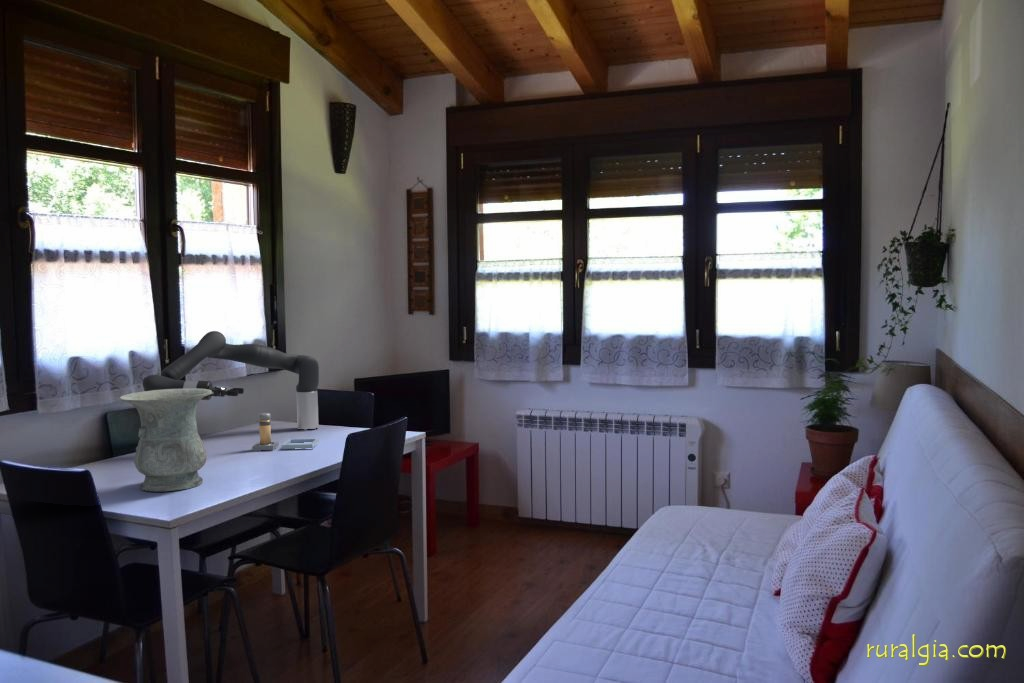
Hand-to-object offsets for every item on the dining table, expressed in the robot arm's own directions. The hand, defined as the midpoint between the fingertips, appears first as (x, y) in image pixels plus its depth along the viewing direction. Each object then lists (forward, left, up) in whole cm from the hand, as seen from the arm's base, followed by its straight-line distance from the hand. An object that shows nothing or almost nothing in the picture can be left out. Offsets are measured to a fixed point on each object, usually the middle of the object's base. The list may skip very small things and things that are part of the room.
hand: (240, 392), depth 297 cm
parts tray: (-4, +22, -23) cm, 32 cm away
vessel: (+54, -6, -23) cm, 59 cm away
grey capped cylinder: (-1, +9, -23) cm, 25 cm away
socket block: (-1, +9, -23) cm, 25 cm away
